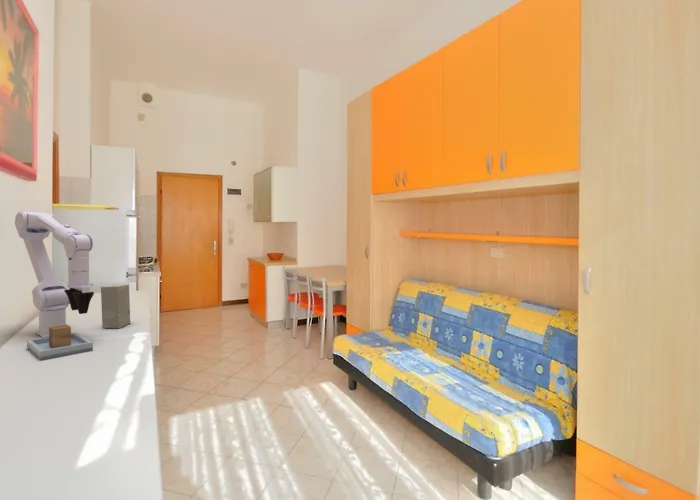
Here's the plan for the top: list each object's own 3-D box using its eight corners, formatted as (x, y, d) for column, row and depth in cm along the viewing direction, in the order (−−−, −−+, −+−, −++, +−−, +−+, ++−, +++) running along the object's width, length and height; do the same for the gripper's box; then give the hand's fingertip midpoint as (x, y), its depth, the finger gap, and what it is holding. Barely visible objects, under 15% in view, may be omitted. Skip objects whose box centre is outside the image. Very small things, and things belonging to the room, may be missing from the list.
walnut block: (49, 346, 123) (48, 326, 123) (66, 343, 126) (66, 324, 126) (53, 349, 120) (53, 329, 120) (71, 346, 124) (70, 326, 123)
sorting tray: (26, 348, 123) (26, 340, 123) (76, 340, 133) (76, 332, 133) (40, 360, 113) (40, 351, 113) (92, 350, 123) (92, 342, 123)
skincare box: (118, 329, 148) (118, 286, 147) (99, 328, 148) (99, 286, 148) (131, 323, 157) (131, 283, 156) (113, 323, 157) (113, 283, 156)
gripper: (100, 272, 131) (100, 313, 132) (85, 268, 140) (85, 306, 141) (74, 273, 126) (75, 316, 126) (61, 269, 135) (62, 309, 136)
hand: (79, 311), depth 134 cm, fingers open, 7 cm apart
